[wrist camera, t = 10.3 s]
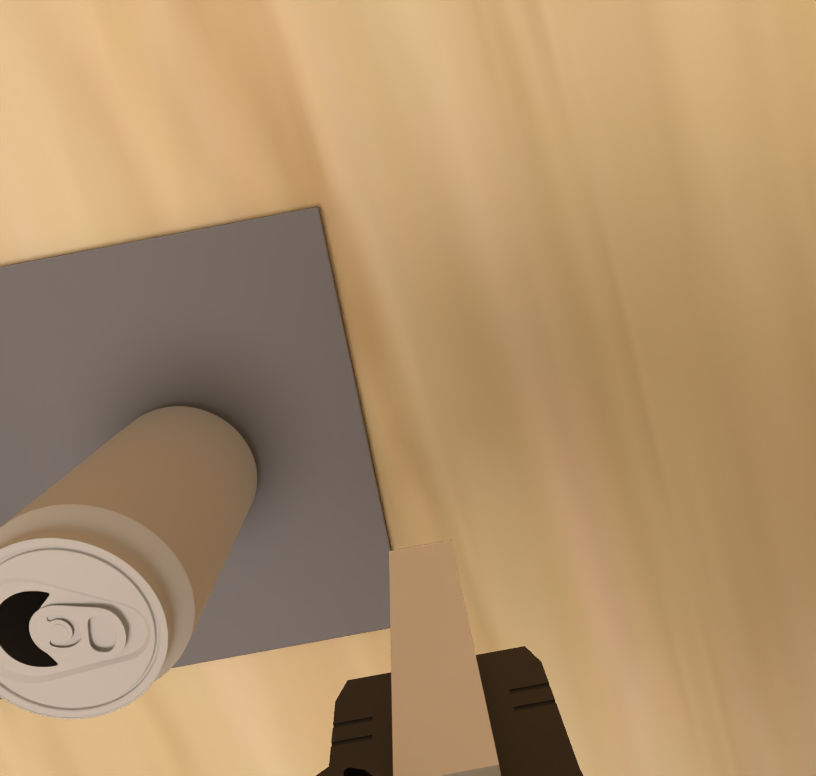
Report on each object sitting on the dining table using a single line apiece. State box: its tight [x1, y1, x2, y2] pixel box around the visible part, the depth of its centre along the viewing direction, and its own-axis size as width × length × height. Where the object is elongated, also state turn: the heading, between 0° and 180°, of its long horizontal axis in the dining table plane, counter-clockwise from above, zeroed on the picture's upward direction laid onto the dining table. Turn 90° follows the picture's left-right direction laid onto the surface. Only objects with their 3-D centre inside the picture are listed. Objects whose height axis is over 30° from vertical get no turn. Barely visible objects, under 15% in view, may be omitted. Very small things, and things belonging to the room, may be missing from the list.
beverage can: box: [0, 406, 257, 719], centre depth 23 cm, size 6×6×12 cm
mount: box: [0, 207, 391, 699], centre depth 26 cm, size 20×28×7 cm
